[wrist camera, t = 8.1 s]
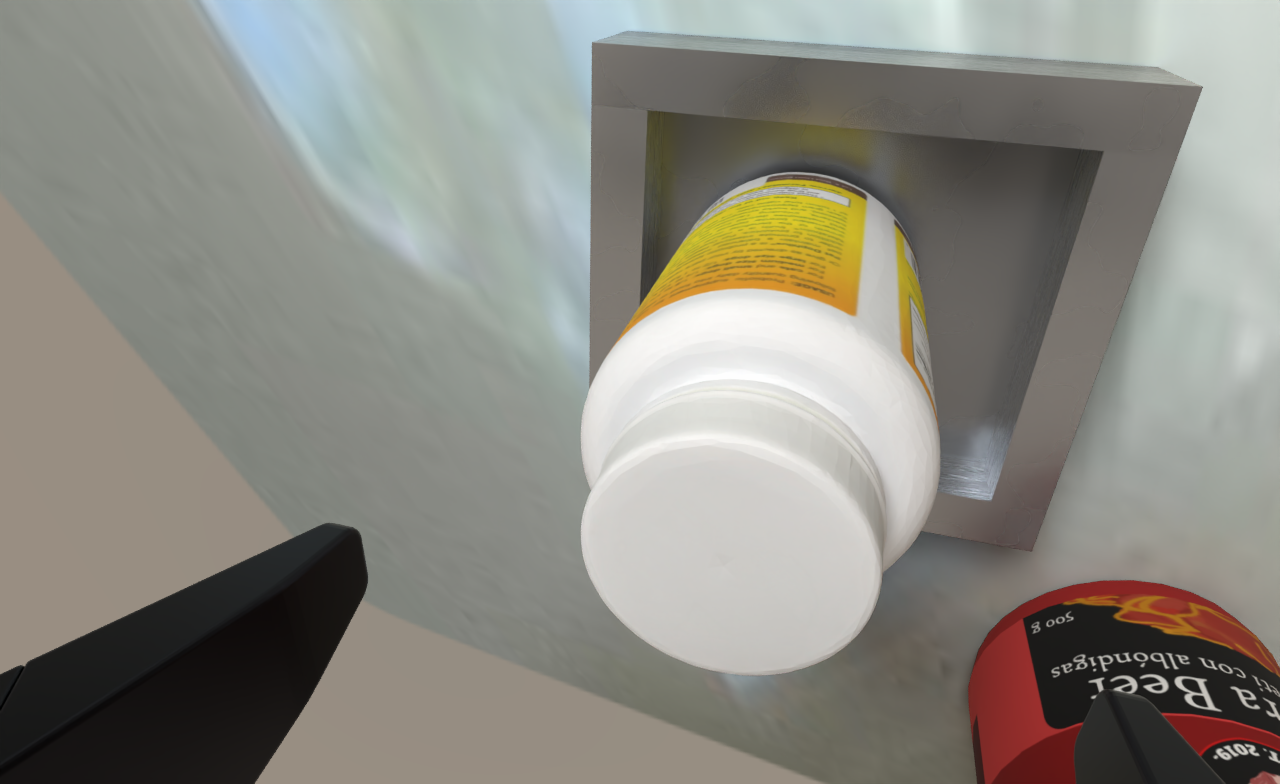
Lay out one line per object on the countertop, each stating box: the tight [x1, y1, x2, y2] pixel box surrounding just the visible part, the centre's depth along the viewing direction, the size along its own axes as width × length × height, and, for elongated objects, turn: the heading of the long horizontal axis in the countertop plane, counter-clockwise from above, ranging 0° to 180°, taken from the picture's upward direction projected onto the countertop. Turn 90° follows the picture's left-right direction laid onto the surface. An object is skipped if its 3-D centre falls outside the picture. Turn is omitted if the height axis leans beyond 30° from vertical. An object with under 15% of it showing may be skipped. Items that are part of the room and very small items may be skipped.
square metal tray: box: [589, 31, 1203, 552], centre depth 18 cm, size 11×10×3 cm
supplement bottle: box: [581, 172, 941, 676], centre depth 15 cm, size 6×6×10 cm
